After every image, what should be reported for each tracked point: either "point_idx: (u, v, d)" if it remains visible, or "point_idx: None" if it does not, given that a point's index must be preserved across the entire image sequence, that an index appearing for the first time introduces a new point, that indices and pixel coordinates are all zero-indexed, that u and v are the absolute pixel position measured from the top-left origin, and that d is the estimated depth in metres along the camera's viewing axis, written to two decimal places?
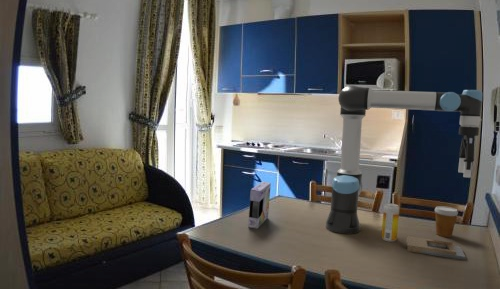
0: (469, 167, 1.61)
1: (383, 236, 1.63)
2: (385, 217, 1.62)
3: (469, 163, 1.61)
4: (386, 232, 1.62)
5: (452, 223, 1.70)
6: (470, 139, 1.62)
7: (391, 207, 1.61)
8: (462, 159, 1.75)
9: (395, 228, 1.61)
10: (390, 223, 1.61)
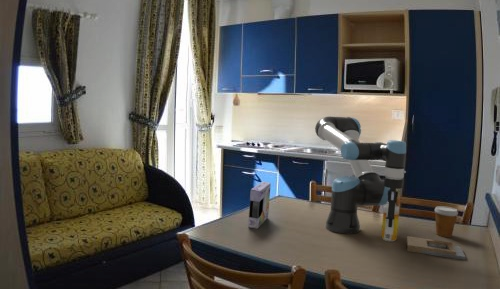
0: (390, 224, 1.59)
1: (383, 236, 1.63)
2: (385, 217, 1.62)
3: (390, 220, 1.59)
4: None
5: (452, 223, 1.70)
6: (392, 196, 1.56)
7: None
8: None
9: (395, 228, 1.61)
10: None
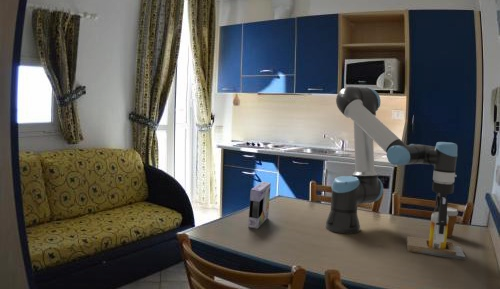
0: (442, 231, 1.46)
1: None
2: (433, 227, 1.51)
3: (442, 227, 1.45)
4: (434, 242, 1.51)
5: (452, 223, 1.70)
6: (443, 200, 1.45)
7: None
8: None
9: (444, 239, 1.51)
10: None
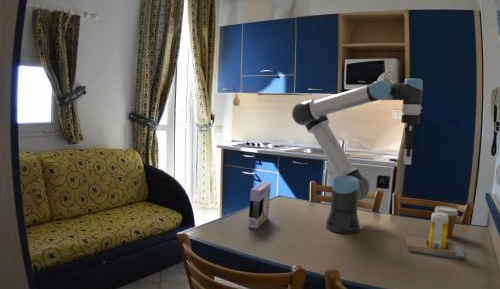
0: (409, 154, 1.64)
1: None
2: (433, 227, 1.51)
3: (409, 150, 1.64)
4: (434, 242, 1.51)
5: (452, 223, 1.70)
6: (410, 127, 1.65)
7: (440, 216, 1.50)
8: None
9: (444, 239, 1.51)
10: (440, 233, 1.50)
